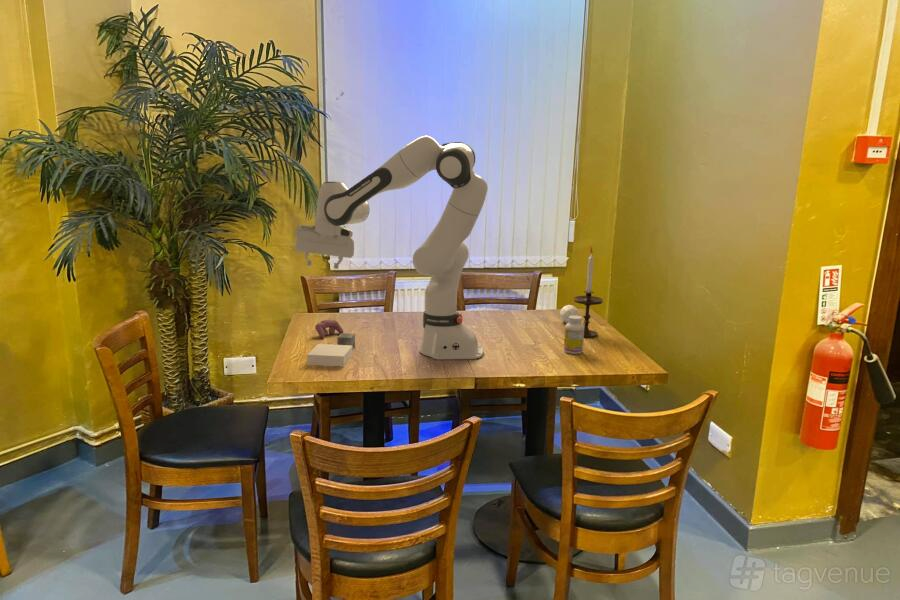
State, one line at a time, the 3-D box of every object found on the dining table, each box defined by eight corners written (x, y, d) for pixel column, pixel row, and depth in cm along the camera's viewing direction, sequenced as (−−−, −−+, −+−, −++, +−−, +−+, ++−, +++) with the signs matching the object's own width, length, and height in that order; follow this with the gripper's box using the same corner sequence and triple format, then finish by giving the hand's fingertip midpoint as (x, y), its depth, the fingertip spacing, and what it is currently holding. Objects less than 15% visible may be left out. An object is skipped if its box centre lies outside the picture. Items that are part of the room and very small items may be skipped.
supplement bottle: (567, 348, 231) (569, 313, 228) (584, 350, 228) (587, 316, 225) (561, 352, 225) (563, 317, 222) (579, 355, 222) (582, 320, 219)
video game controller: (339, 336, 245) (333, 318, 246) (345, 333, 242) (339, 315, 243) (317, 341, 239) (311, 323, 239) (323, 338, 235) (317, 320, 236)
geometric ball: (563, 329, 266) (552, 313, 266) (575, 320, 270) (564, 304, 270) (574, 324, 259) (563, 308, 259) (586, 315, 263) (575, 299, 263)
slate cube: (355, 347, 227) (354, 333, 226) (351, 351, 222) (351, 337, 221) (341, 346, 228) (341, 333, 226) (337, 350, 223) (337, 337, 222)
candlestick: (587, 340, 241) (594, 248, 233) (565, 333, 249) (571, 245, 241) (605, 335, 248) (612, 246, 240) (583, 329, 256) (589, 242, 248)
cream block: (352, 356, 218) (352, 345, 217) (343, 368, 206) (343, 356, 205) (318, 355, 219) (318, 343, 218) (307, 366, 207) (307, 354, 206)
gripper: (296, 225, 214) (292, 265, 217) (357, 233, 220) (351, 272, 223) (296, 222, 220) (291, 261, 223) (355, 230, 226) (350, 268, 229)
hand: (322, 266), depth 223 cm, fingers open, 8 cm apart
